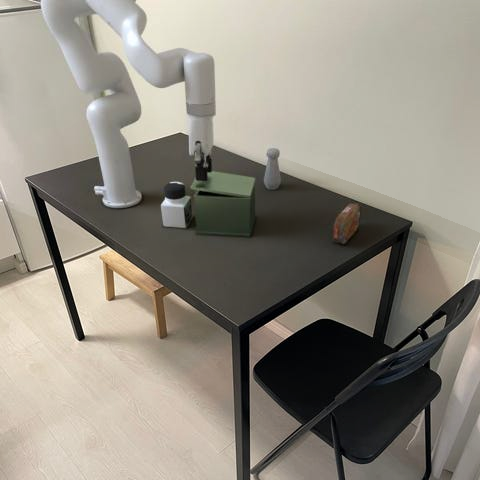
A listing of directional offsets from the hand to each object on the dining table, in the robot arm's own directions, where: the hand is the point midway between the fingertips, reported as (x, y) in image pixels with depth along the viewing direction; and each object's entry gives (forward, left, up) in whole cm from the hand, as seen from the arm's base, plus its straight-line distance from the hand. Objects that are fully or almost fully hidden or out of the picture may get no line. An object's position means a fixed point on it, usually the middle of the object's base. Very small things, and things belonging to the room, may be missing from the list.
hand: (204, 175), depth 136 cm
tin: (+41, -3, -15) cm, 44 cm away
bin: (+6, 0, -15) cm, 16 cm away
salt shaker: (+17, +28, -15) cm, 37 cm away
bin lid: (+6, 0, -2) cm, 6 cm away
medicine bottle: (-9, 0, -15) cm, 18 cm away
